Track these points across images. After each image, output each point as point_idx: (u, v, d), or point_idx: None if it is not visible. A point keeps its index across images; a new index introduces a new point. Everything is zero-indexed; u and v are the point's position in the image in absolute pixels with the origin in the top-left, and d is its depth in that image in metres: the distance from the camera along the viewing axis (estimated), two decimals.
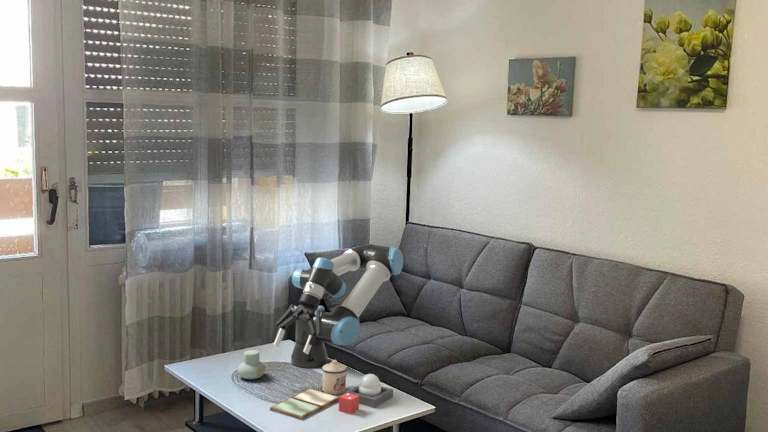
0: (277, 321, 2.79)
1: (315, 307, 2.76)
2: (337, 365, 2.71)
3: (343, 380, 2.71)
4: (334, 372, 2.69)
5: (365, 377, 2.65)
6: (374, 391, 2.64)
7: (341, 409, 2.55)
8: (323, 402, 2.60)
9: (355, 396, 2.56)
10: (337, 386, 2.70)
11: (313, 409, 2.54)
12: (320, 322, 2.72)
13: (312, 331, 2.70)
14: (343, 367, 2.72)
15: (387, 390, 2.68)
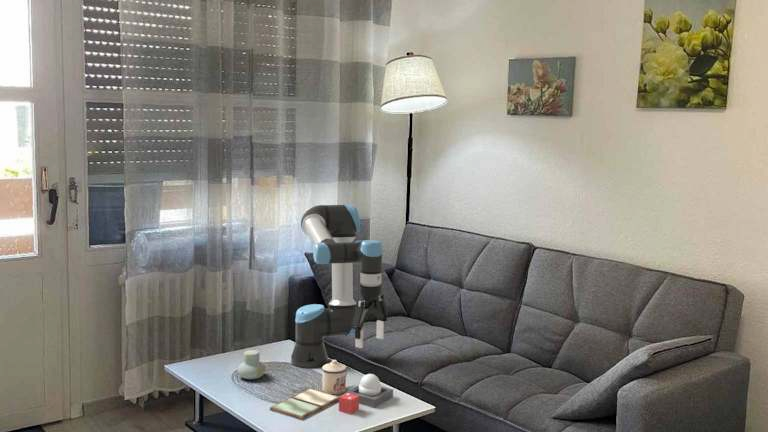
0: (357, 325, 2.55)
1: None
2: (337, 365, 2.71)
3: (343, 380, 2.71)
4: (334, 372, 2.69)
5: (365, 377, 2.65)
6: (374, 391, 2.64)
7: (341, 409, 2.55)
8: (323, 402, 2.60)
9: (355, 396, 2.56)
10: (337, 386, 2.70)
11: (313, 409, 2.54)
12: None
13: (383, 317, 2.69)
14: (343, 367, 2.72)
15: (387, 390, 2.68)
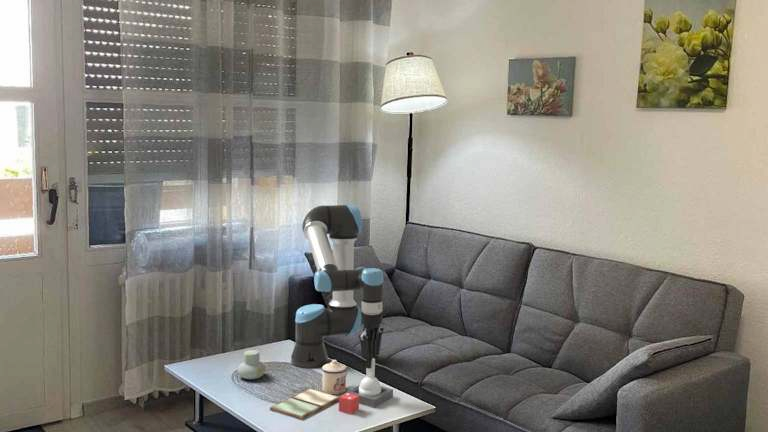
0: (367, 356, 2.61)
1: None
2: (337, 365, 2.71)
3: (343, 380, 2.71)
4: (334, 372, 2.69)
5: (365, 379, 2.65)
6: (374, 393, 2.64)
7: (341, 409, 2.55)
8: (323, 402, 2.60)
9: (355, 396, 2.56)
10: (337, 386, 2.70)
11: (313, 409, 2.54)
12: None
13: (375, 353, 2.66)
14: (343, 367, 2.72)
15: (387, 390, 2.68)
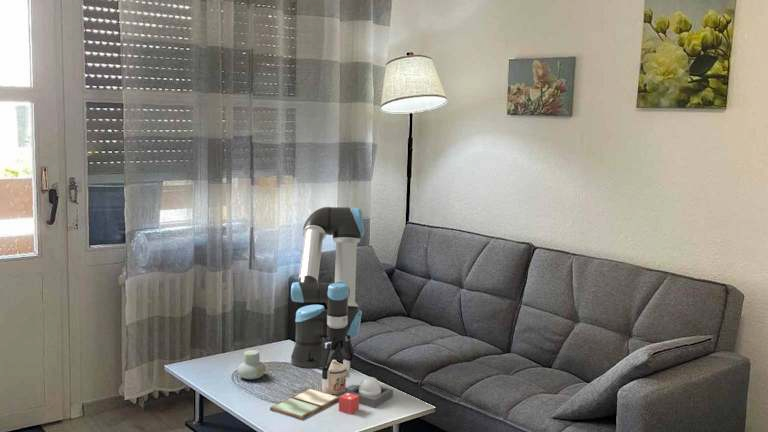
0: (324, 366, 2.66)
1: None
2: (337, 365, 2.71)
3: (343, 380, 2.71)
4: (334, 372, 2.69)
5: (365, 380, 2.65)
6: (374, 394, 2.64)
7: (341, 409, 2.55)
8: (323, 402, 2.60)
9: (355, 396, 2.56)
10: (337, 386, 2.70)
11: (313, 409, 2.54)
12: None
13: (349, 357, 2.79)
14: (343, 367, 2.72)
15: (387, 390, 2.68)
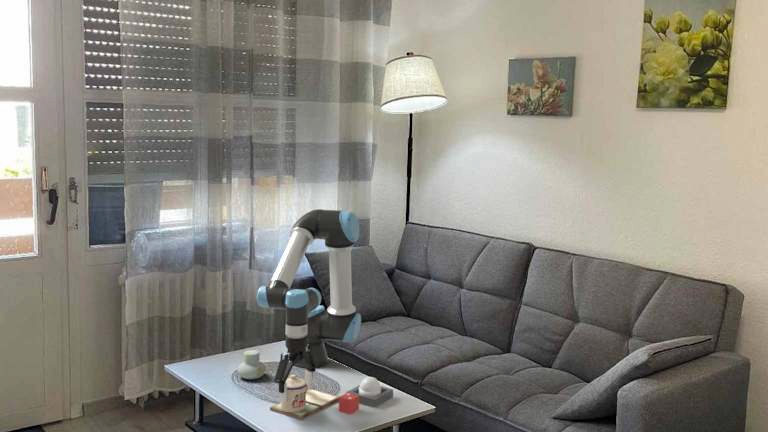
0: (280, 379, 2.45)
1: None
2: (296, 380, 2.52)
3: (302, 396, 2.52)
4: (292, 388, 2.49)
5: (365, 380, 2.65)
6: (374, 394, 2.64)
7: (341, 409, 2.55)
8: (323, 402, 2.60)
9: (355, 396, 2.56)
10: (296, 403, 2.50)
11: (313, 409, 2.54)
12: None
13: (311, 367, 2.59)
14: (302, 382, 2.52)
15: (387, 390, 2.68)
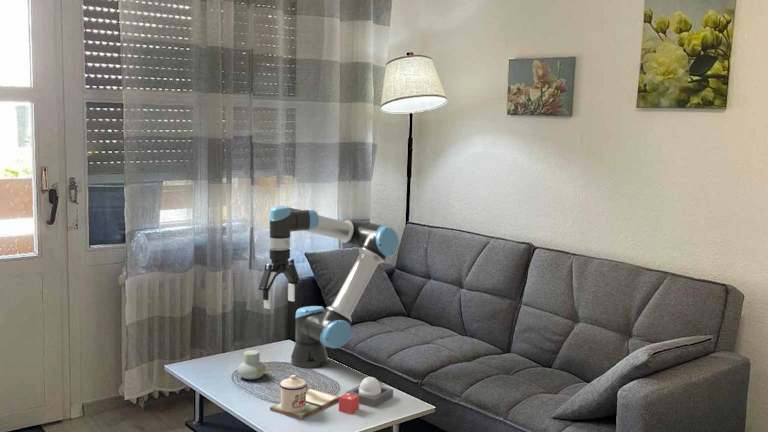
0: (264, 286, 2.66)
1: None
2: (296, 381, 2.52)
3: (303, 397, 2.52)
4: (292, 388, 2.49)
5: (365, 380, 2.65)
6: (374, 394, 2.64)
7: (341, 409, 2.55)
8: (323, 402, 2.60)
9: (355, 396, 2.56)
10: (296, 403, 2.50)
11: (313, 409, 2.54)
12: None
13: (294, 280, 2.80)
14: (303, 383, 2.52)
15: (387, 390, 2.68)
